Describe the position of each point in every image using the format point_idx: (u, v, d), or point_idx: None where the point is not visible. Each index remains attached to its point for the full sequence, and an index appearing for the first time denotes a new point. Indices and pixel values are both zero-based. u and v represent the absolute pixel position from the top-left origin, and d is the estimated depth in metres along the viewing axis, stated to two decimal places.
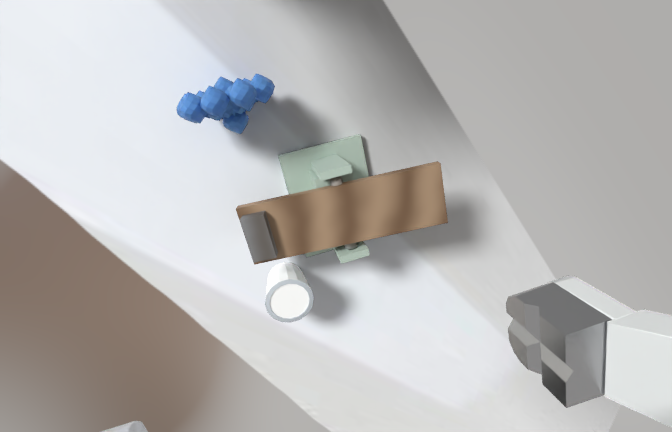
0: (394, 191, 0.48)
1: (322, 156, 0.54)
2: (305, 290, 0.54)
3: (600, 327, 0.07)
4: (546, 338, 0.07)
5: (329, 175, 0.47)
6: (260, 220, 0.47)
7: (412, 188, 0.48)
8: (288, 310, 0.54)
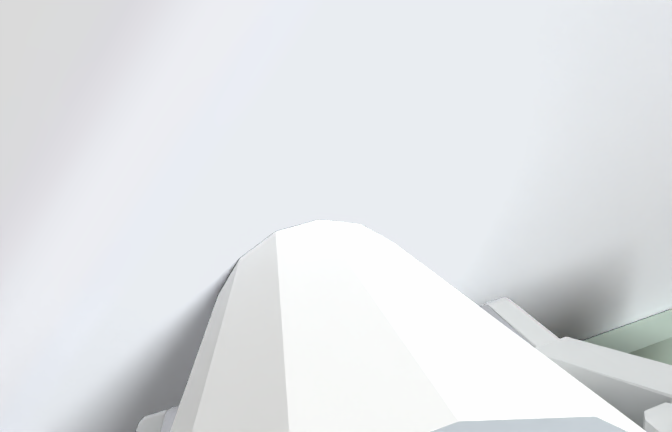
0: None
1: None
2: None
3: None
4: None
5: None
6: None
7: None
8: None
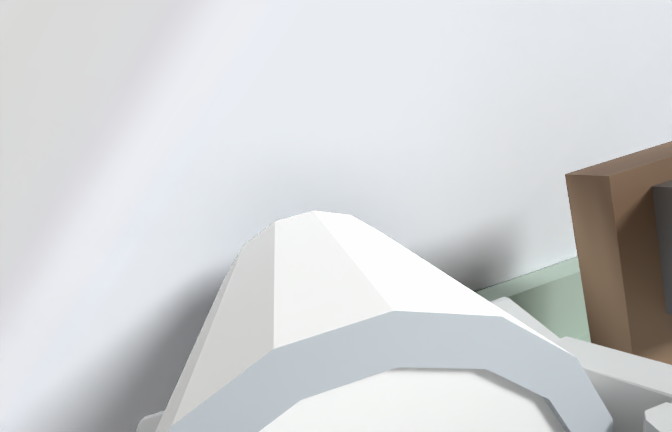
0: None
1: None
2: None
3: None
4: None
5: None
6: None
7: None
8: None
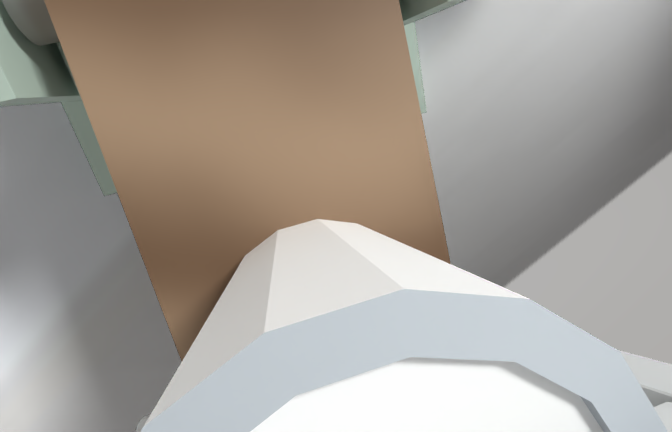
0: (359, 210, 0.11)
1: None
2: None
3: None
4: None
5: None
6: None
7: None
8: None
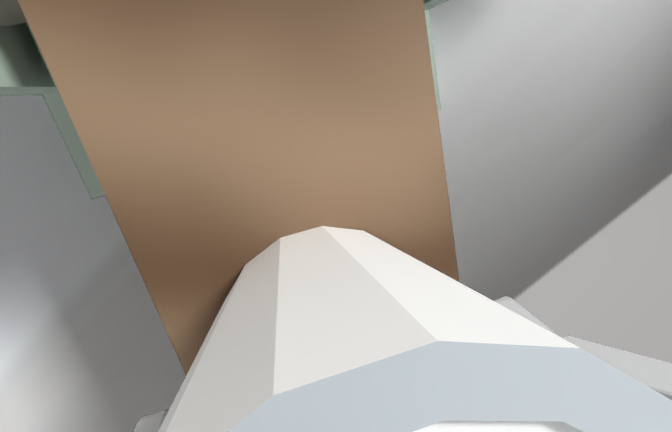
0: (367, 216, 0.10)
1: None
2: None
3: None
4: None
5: None
6: None
7: None
8: None
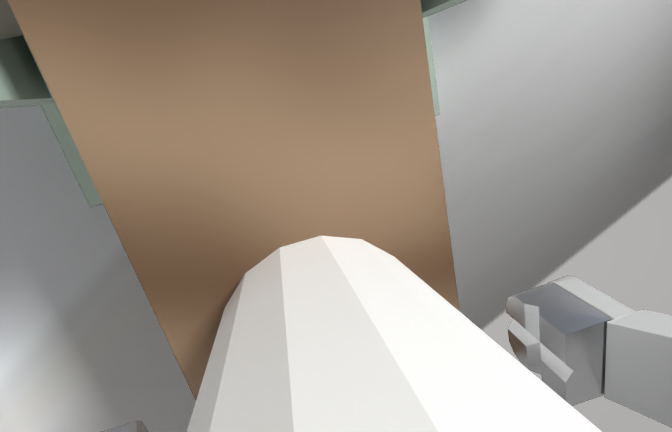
0: (366, 226, 0.10)
1: None
2: None
3: (600, 327, 0.07)
4: (546, 338, 0.07)
5: None
6: None
7: None
8: None
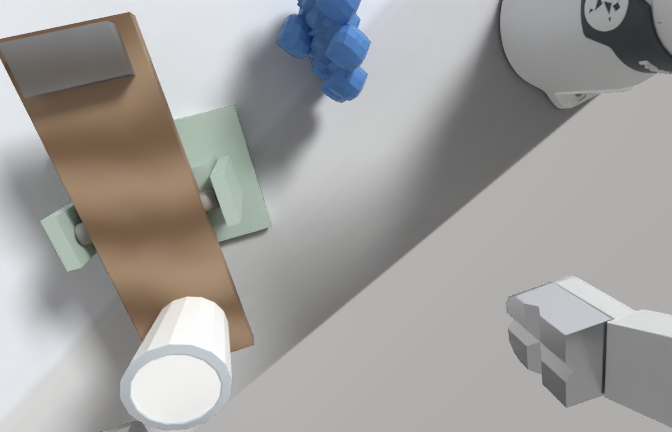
0: (203, 293, 0.30)
1: (237, 173, 0.36)
2: (204, 412, 0.26)
3: (600, 327, 0.07)
4: (546, 338, 0.07)
5: (220, 189, 0.28)
6: (113, 67, 0.23)
7: None
8: (152, 389, 0.24)
